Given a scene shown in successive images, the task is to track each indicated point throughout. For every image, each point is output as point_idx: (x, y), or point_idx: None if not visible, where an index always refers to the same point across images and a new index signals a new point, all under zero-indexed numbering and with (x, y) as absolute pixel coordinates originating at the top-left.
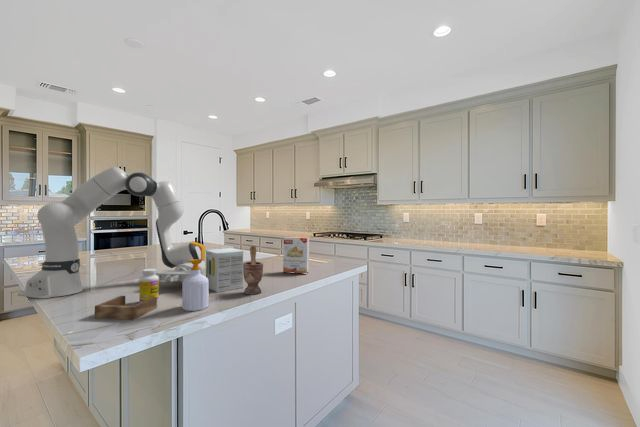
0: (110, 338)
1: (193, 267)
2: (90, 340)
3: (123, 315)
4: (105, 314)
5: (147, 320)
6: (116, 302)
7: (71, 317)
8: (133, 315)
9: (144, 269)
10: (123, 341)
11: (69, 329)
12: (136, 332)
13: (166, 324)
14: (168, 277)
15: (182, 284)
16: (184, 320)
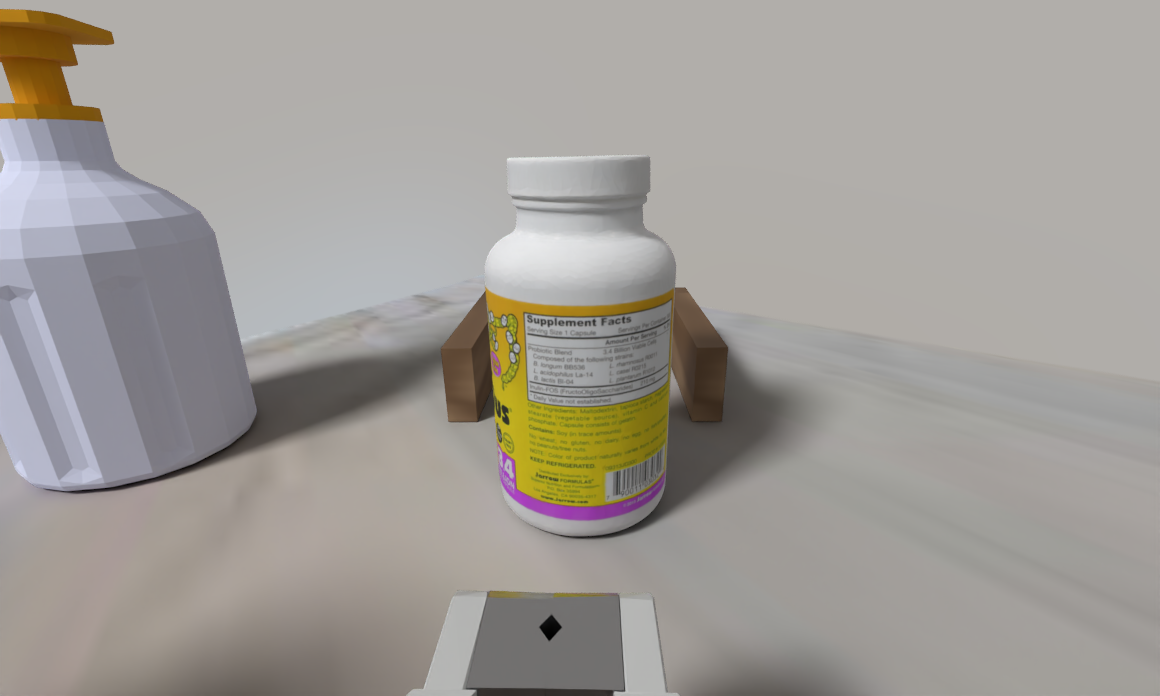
0: (481, 294)
1: (70, 100)
2: None
3: None
4: None
5: (426, 342)
6: (680, 339)
7: (791, 339)
8: None
9: (646, 155)
10: (435, 291)
11: None
12: (423, 308)
13: (332, 332)
14: (554, 611)
15: (216, 243)
16: (254, 350)
